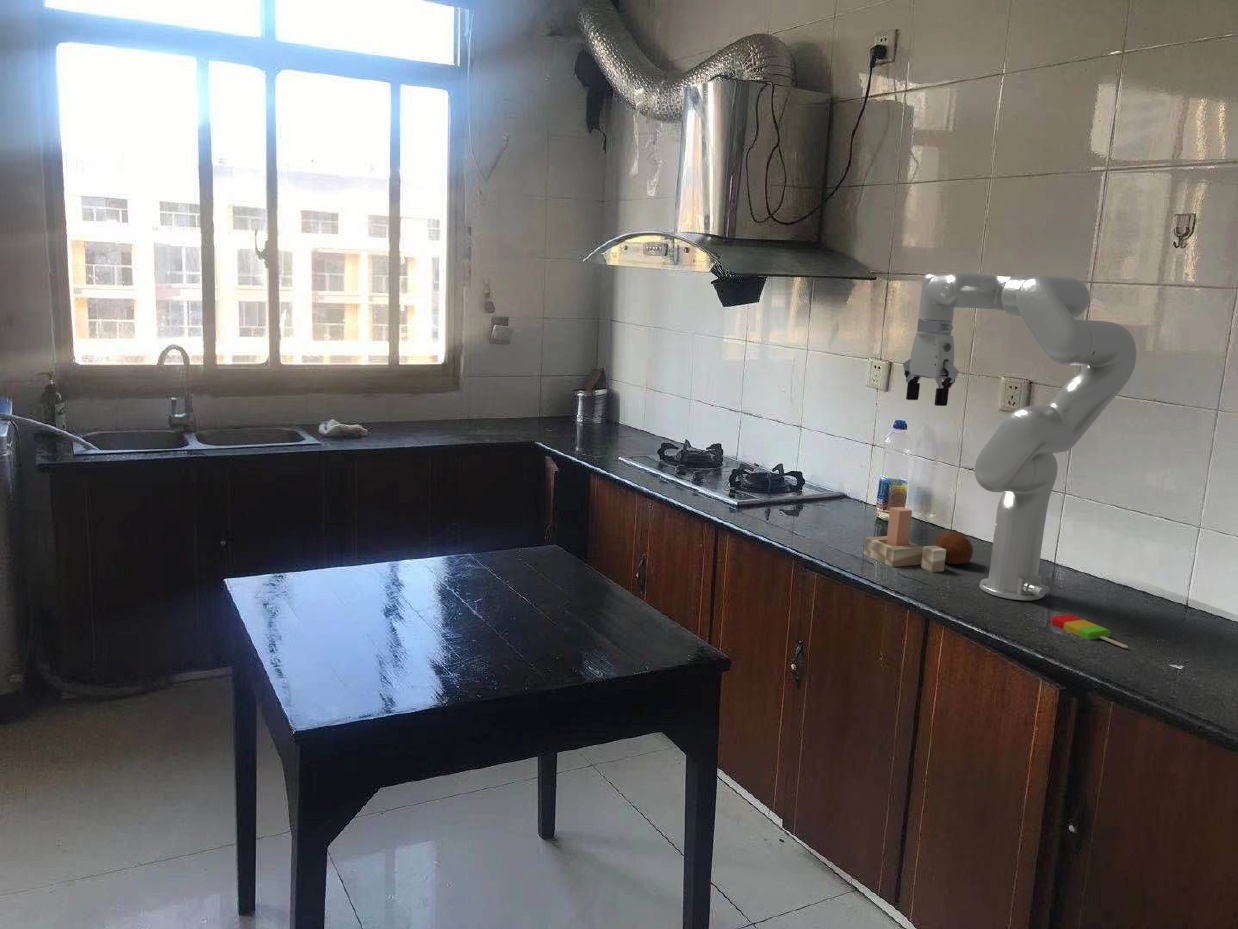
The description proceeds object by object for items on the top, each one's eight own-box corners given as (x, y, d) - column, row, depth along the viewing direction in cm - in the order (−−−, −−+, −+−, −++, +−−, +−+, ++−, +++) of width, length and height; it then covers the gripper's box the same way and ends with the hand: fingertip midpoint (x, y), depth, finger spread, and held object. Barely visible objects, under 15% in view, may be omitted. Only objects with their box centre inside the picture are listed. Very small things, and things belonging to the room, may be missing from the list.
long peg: (906, 560, 226) (912, 510, 224) (894, 561, 224) (899, 511, 222) (896, 556, 229) (902, 506, 227) (884, 557, 228) (890, 507, 225)
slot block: (921, 564, 223) (923, 547, 223) (892, 566, 220) (894, 549, 219) (892, 551, 233) (894, 535, 232) (863, 554, 229) (865, 537, 229)
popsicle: (1068, 622, 190) (1069, 613, 189) (1136, 650, 176) (1138, 640, 176) (1047, 625, 187) (1049, 616, 187) (1115, 653, 174) (1117, 643, 174)
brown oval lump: (951, 555, 232) (955, 525, 231) (983, 568, 223) (987, 537, 221) (922, 557, 229) (926, 526, 228) (953, 570, 220) (956, 538, 218)
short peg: (943, 571, 219) (946, 549, 218) (931, 572, 218) (933, 550, 217) (933, 566, 222) (935, 545, 221) (920, 567, 221) (923, 546, 220)
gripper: (974, 331, 216) (965, 407, 219) (921, 326, 231) (913, 397, 234) (948, 330, 213) (939, 408, 216) (896, 325, 228) (888, 397, 231)
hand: (926, 402), depth 225 cm, fingers open, 9 cm apart
